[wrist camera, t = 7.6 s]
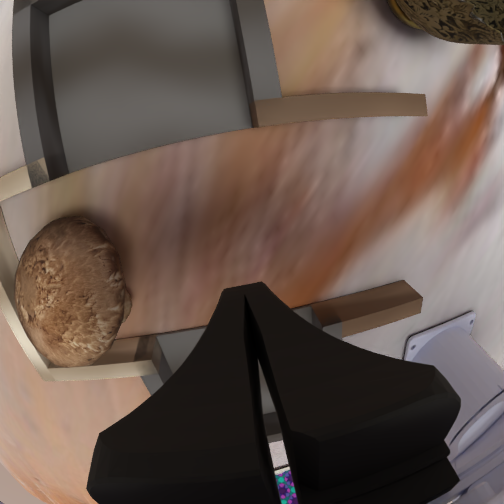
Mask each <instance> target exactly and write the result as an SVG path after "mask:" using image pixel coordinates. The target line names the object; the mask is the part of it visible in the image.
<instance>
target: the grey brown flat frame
mask: <svg viewBox="0 0 504 504" xmlns="http://www.w3.org/2000/svg"><path fill="white" fill-rule="evenodd" d="M12 58H13V78H14V90H15V100H16V108H17V116H18V123H19V129H20V135H21V141H22V147H23V152H24V157H25V161H26V165H25V166H23V167H21V168H19V169H17V170H15V171H12V172H10V173H8V174H6V175H4V176H2V177H0V201H3V200H5V199H7V198H9V197H12V196H14V195H16V194H19V193H21V192H23V191H26V190H28V189H31V188H33V187H36V186H38V185H41V184H43V183H46V182H49V181H51V180H54V179H56V178H59V177H61V176H64V175H66V174H69V173H72V172H75V171H77V170H80V169H83V168H86V167H89V166H93V165H96V164H99V163H102V162H105V161H108V160H112V159H115V158H118V157H122V156H125V155H129V154H133V153H136V152H140V151H144V150H147V149H151V148H155V147H159V146H163V145H167V144H172V143H176V142H180V141H185V140H189V139H194V138H199V137H203V136H208V135H214V134H219V133H224V132H230V131H235V130H241V129H247V128H256V127H264V126H272V125H279V124H287V123H296V122H305V121H315V120H326V119H339V118H354V117H377V116H428V115H427V106H426V97H425V94H412V93H380V92H363V93H330V94H313V95H301V96H290V97H282V94H281V88H280V83H279V77H278V71H277V66H276V60H275V55H274V50H273V44H272V39H271V34H270V29H269V24H268V19H267V15H266V10H265V5H264V1H263V0H14V6H13V25H12ZM18 264H19V261H18V258H17V256H16V253H15V250H14V248H13V245H12V242H11V239H10V236H9V233H8V230H7V227H6V224H5V221H4V218H3V214H2V211H1V208H0V308H1V310H2V312H3V314H4V316H5V318H6V320H7V322H8V324H9V325H10V327H11V329H12V331H13V333H14V334H15V336H16V338H17V340H18V341H19V343H20V345H21V346H22V348H23V350H24V351H25V353H26V355H27V356H28V358H29V359H30V361H31V363H32V364H33V366H34V367H35V369H36V370H37V372H38V373H39V375H40V376H41V378H42V379H43V381H78V380H97V379H112V378H124V377H135V376H141V378H142V380H143V382H144V383H145V385H146V387H147V389H148V391H149V392H150V394H151V396H152V395H153V394H154V393H155V392H156V391H157V390H158V389H159V388H160V387H161V386H162V385H163V384H164V383H165V382H166V381H167V380H168V379H169V378H170V377H171V376H172V375H173V374H174V373H175V372H176V371H177V369H178V368H179V367H180V366H181V365H182V363H183V362H184V361H185V360H186V358H187V357H188V356H189V354H190V353H191V351H192V350H193V348H194V347H195V345H196V344H197V342H198V341H199V339H200V337H201V336H202V334H203V332H204V331H205V329H206V327H207V326H203V327H197V328H191V329H186V330H180V331H173V332H167V333H161V334H154V335H148V336H141V337H134V338H126V339H119V340H114V342H113V345H112V347H111V349H110V350H108V351H107V352H106V353H105V354H104V355H102V356H101V357H100V358H99V359H98V360H96V361H95V362H94V363H93V364H92V365H87V366H80V367H72V368H65V367H60V366H58V365H55V364H54V363H53V362H51V361H50V360H48V359H47V358H46V357H44V356H43V355H42V354H40V353H39V352H38V351H37V350H36V349H35V347H34V346H33V345H32V343H31V342H30V340H29V339H28V337H27V335H26V334H25V332H24V329H23V327H22V325H21V323H20V321H19V318H18V314H17V309H16V305H15V300H14V284H15V273H16V270H17V267H18ZM422 301H423V297H422V296H421V295H420V294H419V293H417V292H416V291H415V290H414V289H413V288H412V287H411V286H410V285H409V284H408V283H407V282H405V281H404V280H402V281H398V282H395V283H391V284H388V285H384V286H381V287H377V288H373V289H370V290H366V291H362V292H358V293H354V294H350V295H347V296H343V297H339V298H335V299H331V300H327V301H322V302H318V303H314V304H310V305H305V306H301V307H297V308H292V310H293V311H294V312H295V313H297V314H298V315H299V316H301V317H302V318H304V319H305V320H306V321H308V322H309V323H311V324H312V325H314V326H315V327H317V328H319V329H320V330H322V331H324V332H326V333H328V334H330V335H331V336H333V337H336V338H338V339H340V340H342V338H343V337H346V336H350V335H353V334H357V333H360V332H363V331H367V330H370V329H373V328H377V327H380V326H383V325H386V324H389V323H392V322H395V321H398V320H401V319H404V318H407V317H410V316H413V315H416V314H419V313H421V307H422ZM258 364H259V374H260V385H261V396H262V407H263V416H264V423H265V429H266V434H267V438H268V443H271V442H276V441H281V440H283V437H282V433H281V429H280V425H279V421H278V417H277V414H276V410H275V408H274V405H273V402H272V399H271V396H270V393H269V390H268V387H267V384H266V381H265V378H264V375H263V372H262V369H261V366H260V363H259V360H258Z"/></svg>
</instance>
